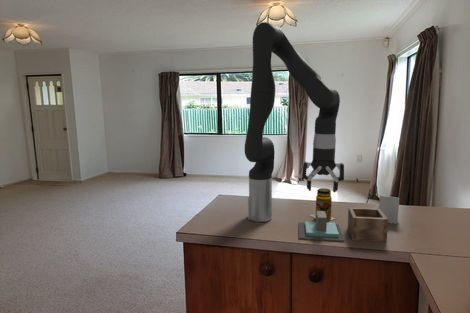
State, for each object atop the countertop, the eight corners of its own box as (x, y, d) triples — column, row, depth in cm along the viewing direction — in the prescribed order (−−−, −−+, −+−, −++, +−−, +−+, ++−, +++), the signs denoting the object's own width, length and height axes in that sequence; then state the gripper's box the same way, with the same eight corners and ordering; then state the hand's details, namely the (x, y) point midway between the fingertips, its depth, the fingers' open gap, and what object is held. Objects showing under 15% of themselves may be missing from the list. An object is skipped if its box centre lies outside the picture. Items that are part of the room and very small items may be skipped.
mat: (298, 239, 113) (298, 237, 113) (298, 223, 128) (298, 222, 128) (344, 241, 110) (344, 240, 110) (338, 225, 125) (338, 224, 125)
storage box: (352, 240, 112) (353, 217, 110) (347, 227, 122) (348, 207, 121) (386, 242, 110) (388, 219, 108) (378, 229, 120) (380, 208, 119)
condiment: (321, 222, 129) (322, 192, 127) (308, 215, 137) (309, 187, 135) (336, 219, 132) (337, 190, 130) (323, 213, 139) (323, 185, 137)
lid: (306, 235, 115) (306, 218, 114) (305, 224, 125) (305, 208, 124) (338, 237, 113) (339, 220, 112) (334, 225, 123) (335, 209, 122)
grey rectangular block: (397, 224, 125) (398, 199, 123) (378, 221, 129) (379, 196, 127) (397, 221, 128) (399, 196, 127) (379, 218, 132) (380, 194, 130)
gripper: (303, 147, 111) (301, 193, 114) (347, 148, 109) (344, 195, 112) (303, 144, 119) (301, 187, 121) (344, 145, 116) (341, 189, 119)
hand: (321, 191), depth 117 cm, fingers open, 8 cm apart
